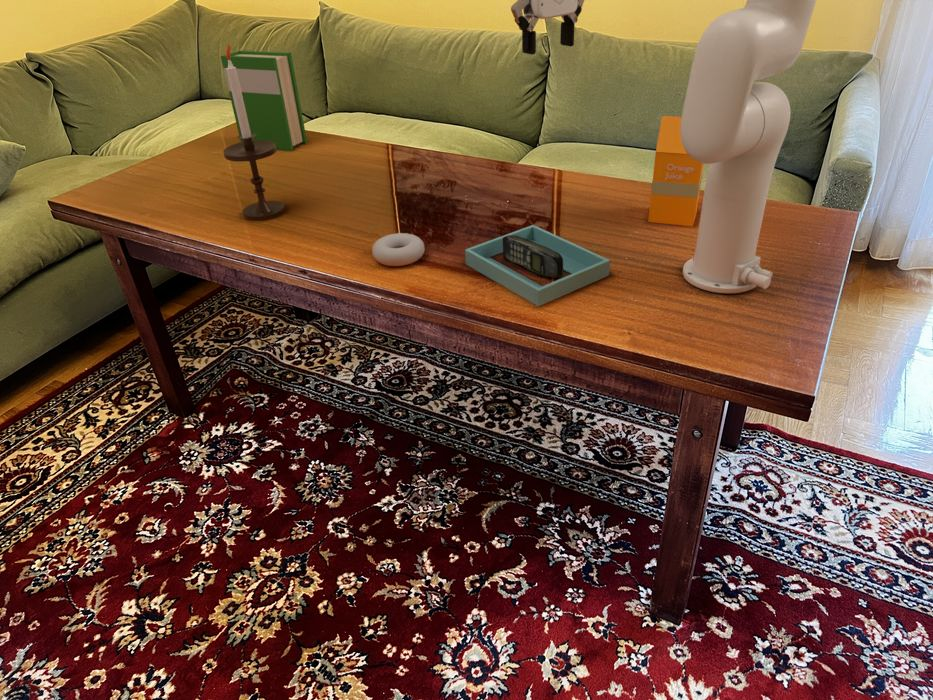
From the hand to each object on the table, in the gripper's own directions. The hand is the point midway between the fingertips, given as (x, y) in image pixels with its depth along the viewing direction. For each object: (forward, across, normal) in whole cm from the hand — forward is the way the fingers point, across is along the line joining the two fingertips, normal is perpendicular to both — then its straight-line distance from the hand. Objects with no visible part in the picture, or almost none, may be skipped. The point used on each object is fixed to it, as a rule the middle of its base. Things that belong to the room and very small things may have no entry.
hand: (548, 49), depth 130 cm
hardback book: (+31, -27, +86) cm, 95 cm away
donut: (+31, -38, -1) cm, 49 cm away
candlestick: (+31, -49, +39) cm, 70 cm away
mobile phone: (+31, -22, -22) cm, 44 cm away
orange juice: (+31, +14, -23) cm, 41 cm away
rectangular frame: (+31, -22, -22) cm, 44 cm away
